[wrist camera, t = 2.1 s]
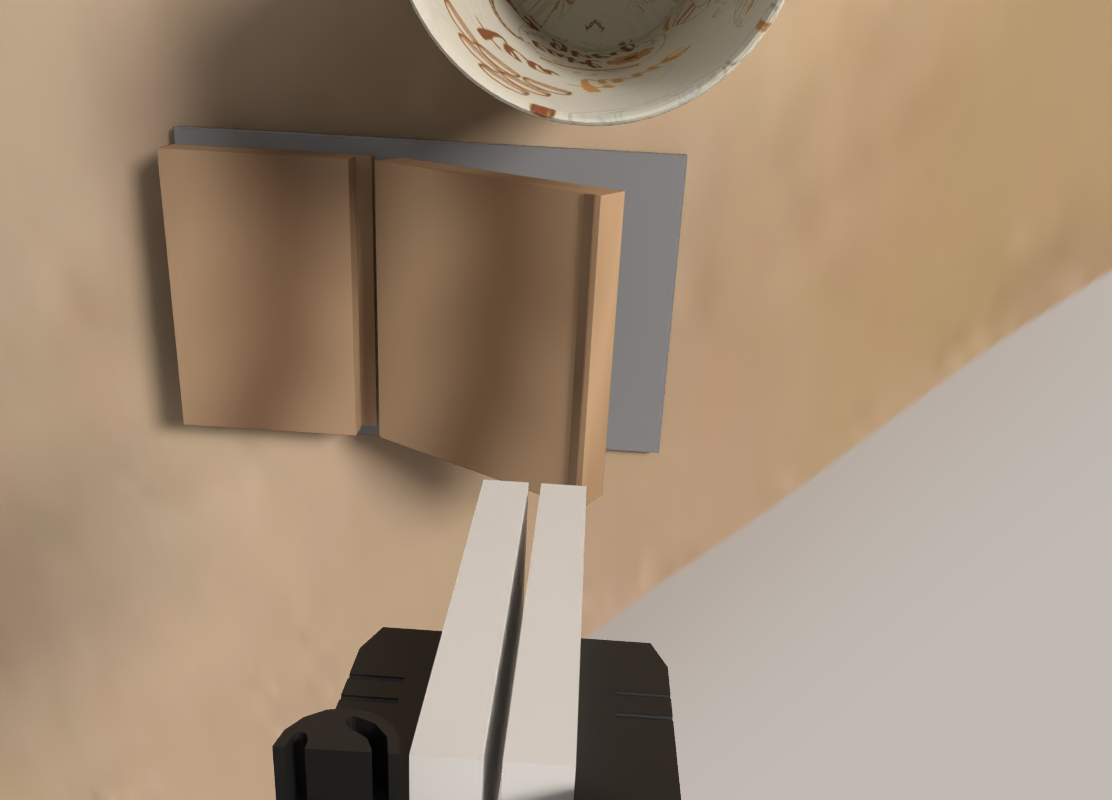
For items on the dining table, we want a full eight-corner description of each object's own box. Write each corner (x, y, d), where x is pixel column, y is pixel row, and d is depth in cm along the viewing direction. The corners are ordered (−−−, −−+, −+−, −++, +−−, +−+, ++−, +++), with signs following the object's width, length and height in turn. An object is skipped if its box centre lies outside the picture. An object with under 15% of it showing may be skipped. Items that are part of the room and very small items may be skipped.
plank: (404, 426, 33) (378, 437, 32) (402, 157, 29) (372, 160, 28) (602, 494, 29) (579, 510, 28) (624, 191, 25) (599, 195, 24)
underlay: (204, 419, 34) (200, 423, 33) (178, 126, 30) (173, 126, 30) (658, 448, 33) (658, 452, 33) (686, 154, 30) (687, 156, 29)
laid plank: (199, 410, 33) (183, 424, 32) (174, 143, 30) (156, 148, 29) (379, 421, 33) (370, 436, 32) (374, 155, 30) (364, 159, 29)
